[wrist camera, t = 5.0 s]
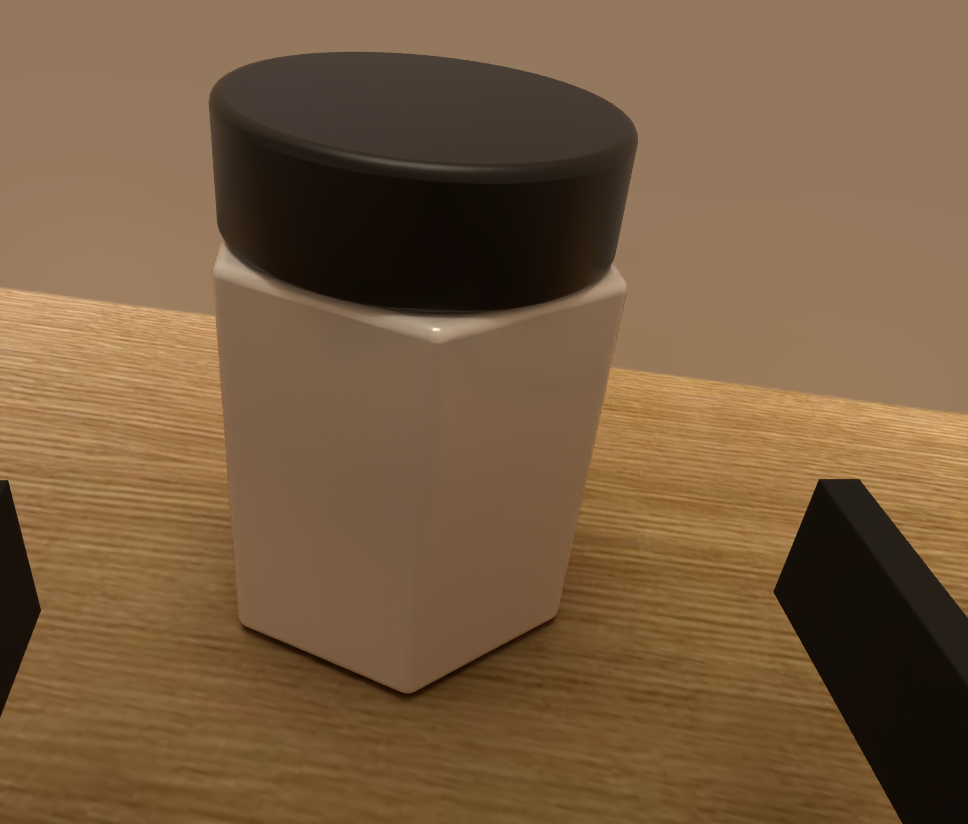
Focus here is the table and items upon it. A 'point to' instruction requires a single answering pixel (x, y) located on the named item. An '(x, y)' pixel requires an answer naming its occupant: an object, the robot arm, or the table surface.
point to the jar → (411, 347)
